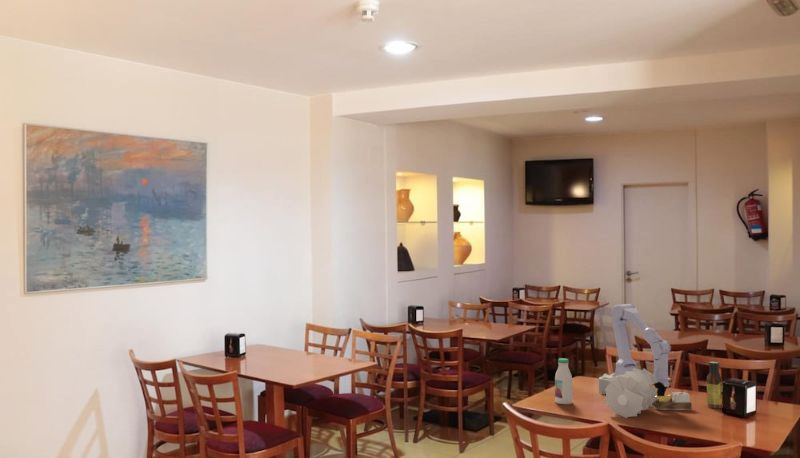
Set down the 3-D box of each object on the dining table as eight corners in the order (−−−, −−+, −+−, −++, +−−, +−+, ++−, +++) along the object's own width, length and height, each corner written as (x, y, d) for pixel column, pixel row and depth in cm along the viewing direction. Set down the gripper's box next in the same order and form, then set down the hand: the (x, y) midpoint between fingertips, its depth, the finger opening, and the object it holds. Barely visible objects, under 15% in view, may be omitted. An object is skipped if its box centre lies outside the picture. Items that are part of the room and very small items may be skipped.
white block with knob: (675, 402, 283) (675, 393, 283) (671, 400, 288) (671, 391, 288) (689, 402, 283) (689, 393, 283) (685, 400, 287) (685, 391, 287)
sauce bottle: (724, 409, 283) (724, 364, 283) (709, 408, 284) (708, 363, 284) (720, 405, 289) (719, 361, 289) (705, 405, 290) (704, 360, 290)
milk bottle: (570, 400, 300) (570, 357, 300) (573, 405, 292) (573, 360, 292) (554, 400, 300) (553, 357, 301) (556, 404, 293) (555, 360, 293)
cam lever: (656, 402, 283) (656, 396, 283) (653, 401, 285) (653, 395, 285) (673, 401, 285) (673, 395, 285) (670, 400, 287) (670, 394, 287)
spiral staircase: (612, 426, 272) (632, 410, 292) (651, 415, 262) (668, 399, 282) (593, 385, 276) (613, 372, 296) (630, 372, 266) (649, 359, 286)
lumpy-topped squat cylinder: (595, 392, 314) (595, 374, 315) (611, 388, 323) (611, 371, 323) (614, 396, 306) (614, 378, 306) (630, 392, 315) (629, 374, 315)
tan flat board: (655, 409, 283) (655, 403, 283) (651, 406, 289) (651, 399, 289) (692, 410, 282) (692, 403, 282) (686, 406, 288) (686, 399, 288)
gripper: (676, 372, 278) (676, 403, 278) (664, 364, 293) (664, 394, 293) (659, 372, 278) (659, 403, 279) (648, 364, 293) (648, 394, 293)
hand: (660, 399), depth 286 cm, fingers closed, pressing on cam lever
